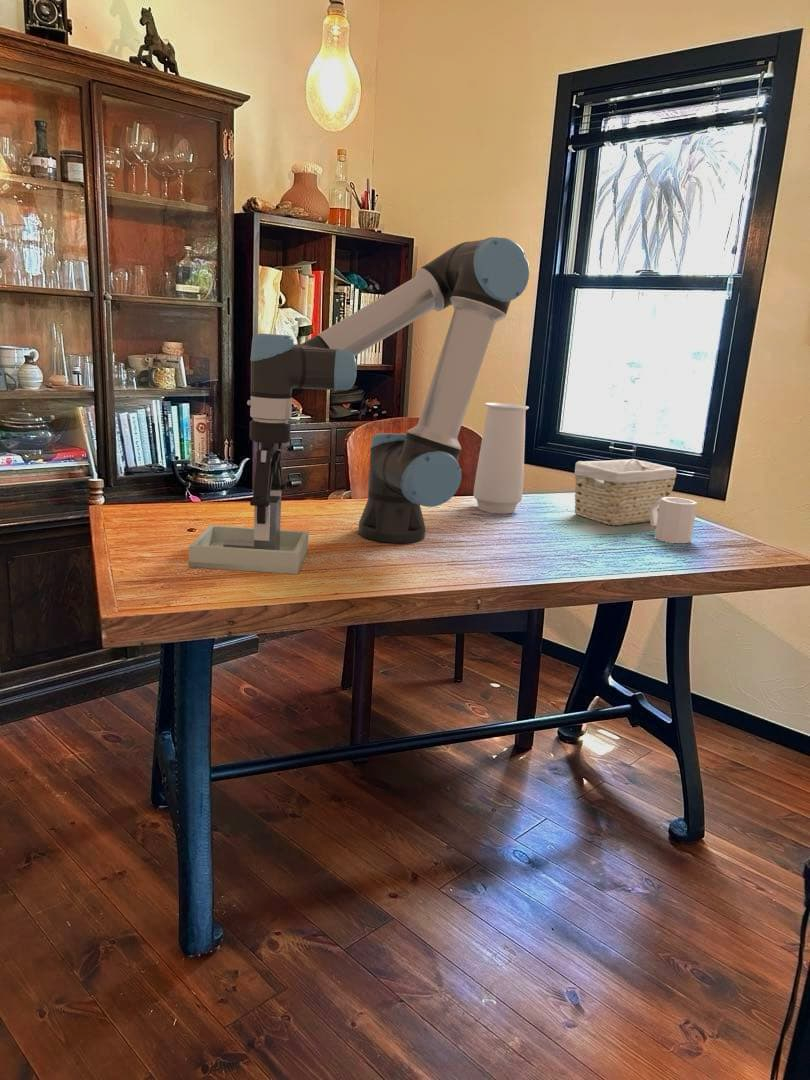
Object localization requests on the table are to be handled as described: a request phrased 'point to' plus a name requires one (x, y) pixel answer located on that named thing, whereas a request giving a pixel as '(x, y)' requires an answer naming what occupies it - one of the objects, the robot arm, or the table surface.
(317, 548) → the table surface
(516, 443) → the vase
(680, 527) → the mug
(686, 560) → the table surface
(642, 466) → the storage basket
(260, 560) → the tray
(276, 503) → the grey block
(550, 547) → the table surface
